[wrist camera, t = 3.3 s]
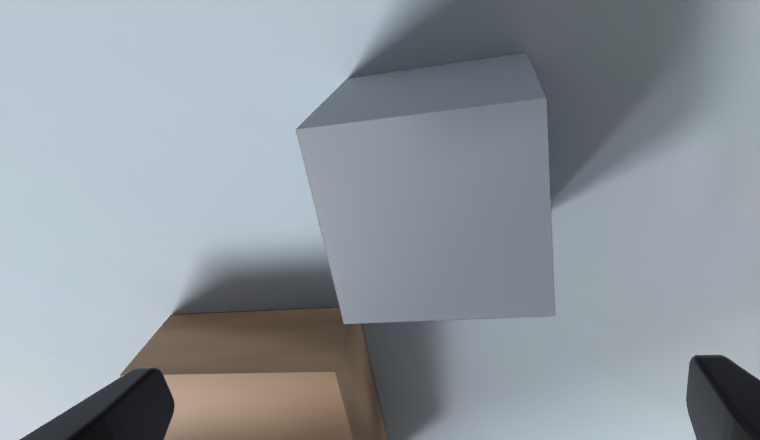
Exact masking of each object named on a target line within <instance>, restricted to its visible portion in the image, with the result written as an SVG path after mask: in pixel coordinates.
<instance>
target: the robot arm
mask: <svg viewBox="0 0 760 440" xmlns="http://www.w3.org/2000/svg"><path fill="white" fill-rule="evenodd" d="M686 401H687V408H688V413H689V416H690V420H691V423H692V426H693V429H694V432H695V436H696V439H697V440H760V380H759V379H757V378H756V377H754V376H753V375H751V374H750V373H749V372H747V371H746V370H744V369H743V368H741V367H740V366H738V365H737V364H735V363H734V362H733V361H731V360H730V359H728V358H726V357H725V356H722V355H696V356H694V357H692V358H691V361H690V364H689V374H688V384H687V395H686ZM174 408H175V403H174V399H173V396H172V394H171V392H170V389H169V387H168V385H167V382H166V380H165V378H164V376H163V373H162V372H161V371H160V370H159V369H158V368H155V367H140V368H136V369H133V370H132V371H130V372H128V373H127V374H125V375H124V376H122V377H120V378H119V379H117V380H116V381H114V382H112V383H111V384H109V385H107V386H106V387H104V388H103V389H101V390H99V391H98V392H96V393H94V394H93V395H91V396H90V397H88V398H86V399H85V400H83V401H82V402H80V403H78V404H77V405H75V406H73V407H72V408H70V409H69V410H67V411H65V412H64V413H62V414H61V415H59V416H57V417H56V418H54V419H52V420H51V421H49V422H48V423H46V424H44V425H43V426H41V427H40V428H38V429H36V430H35V431H33V432H31V433H30V434H28V435H27V436H25V437H23V438H22V439H20V440H164V438H165V435H166V433H167V430H168V427H169V425H170V422H171V419H172V416H173V413H174Z"/></svg>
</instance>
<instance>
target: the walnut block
mask: <svg viewBox="0 0 760 440" xmlns="http://www.w3.org/2000/svg"><path fill="white" fill-rule="evenodd" d="M140 367H155V368H158V369H159V370H160V371H161V372H162V373H163V376H164V378H165V380H166V382H167V385H168V387H169V389H170V392H171V394H172V396H173V399H174V403H175V408H174V413H173V416H172V419H171V422H170V425H169V427H168V430H167V433H166V435H165V438H164V440H388V438H387V434H386V430H385V425H384V421H383V417H382V412H381V408H380V403H379V399H378V395H377V390H376V386H375V381H374V377H373V373H372V368H371V364H370V360H369V355H368V351H367V346H366V342H365V338H364V333H363V329H362V324H361V323H359V324H344V323H343V319H342V315H341V311H340V307H335V308H313V309H291V310H268V311H246V312H224V313H202V314H180V315H170V317H169V318H168V319H167V320H166V321H165V323H164V324H163V325H162V326H161V327H160V328H159V330H158V331H157V332H156V333H155V334H154V336H153V337H152V338H151V339H150V340H149V341H148V343H147V344H146V345H145V346H144V347H143V349H142V350H141V351H140V352H139V353H138V355H137V356H136V357H135V358H134V359H133V360H132V362H131V363H130V364H129V365H128V366H127V368H126V369H125V370H124V371H123V372H122V373H121V375H120V377H122V376H124V375H125V374H127V373H128V372H130V371H132V370H133V369H136V368H140Z"/></svg>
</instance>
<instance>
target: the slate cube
mask: <svg viewBox="0 0 760 440" xmlns="http://www.w3.org/2000/svg"><path fill="white" fill-rule="evenodd" d="M296 133H297V137H298V141H299V145H300V149H301V153H302V157H303V161H304V165H305V169H306V173H307V177H308V181H309V185H310V189H311V193H312V197H313V201H314V205H315V209H316V214H317V218H318V222H319V226H320V230H321V234H322V238H323V242H324V246H325V250H326V254H327V258H328V262H329V266H330V270H331V274H332V278H333V282H334V286H335V290H336V294H337V299H338V303H339V307H340V311H341V315H342V319H343V323H344V324H359V323H386V322H412V321H438V320H465V319H491V318H518V317H544V316H555V298H554V273H553V248H552V223H551V198H550V173H549V148H548V123H547V98H546V96H545V93H544V91H543V89H542V86H541V84H540V82H539V79H538V77H537V75H536V72H535V70H534V68H533V66H532V63H531V61H530V59H529V56H528V54H527V52H524V53H517V54H510V55H504V56H497V57H490V58H483V59H476V60H469V61H462V62H456V63H449V64H442V65H435V66H428V67H421V68H414V69H408V70H401V71H394V72H387V73H380V74H373V75H366V76H360V77H353V78H348V79H347V80H345V81H344V82H343V83H342V84H341V85H340V86H339V87H338V88H337V89H336V90H335V91H334V92H333V93H332V94H331V95H330V96H329V97H328V98H327V99H326V100H325V101H324V102H323V103H322V104H321V105H320V106H319V107H318V108H317V109H316V110H315V111H314V112H313V113H312V114H311V115H310V116H309V117H308V118H307V119H306V120H305V121H304V122H303V123H302V124H301V125H300V126H299V127H298V128H297V129H296Z"/></svg>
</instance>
